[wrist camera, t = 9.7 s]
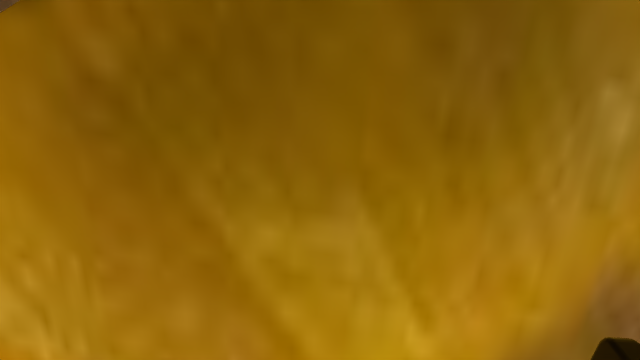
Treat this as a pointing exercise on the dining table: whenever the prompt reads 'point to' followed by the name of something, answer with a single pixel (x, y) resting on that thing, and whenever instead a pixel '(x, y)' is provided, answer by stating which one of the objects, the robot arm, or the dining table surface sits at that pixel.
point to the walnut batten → (6, 4)
